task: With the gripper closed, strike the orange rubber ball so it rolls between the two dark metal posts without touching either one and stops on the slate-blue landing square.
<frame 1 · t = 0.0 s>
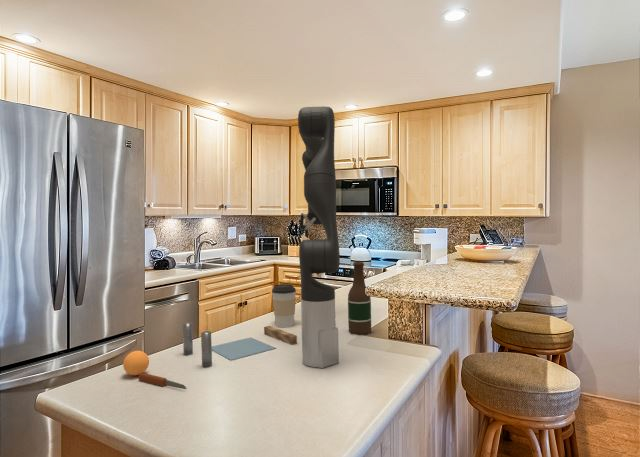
hand: (318, 237, 163), 31 cm above the table, tool tilted 20°, fingers open, 8 cm apart
kitchen knife: (162, 387, 94), on the table
beer bottle: (359, 332, 134), on the table
coffee cup: (284, 325, 146), on the table
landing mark: (241, 348, 120), on the table
ball: (136, 363, 100), on the table
left post: (188, 353, 116), on the table
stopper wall: (279, 338, 129), on the table
right post: (207, 365, 106), on the table
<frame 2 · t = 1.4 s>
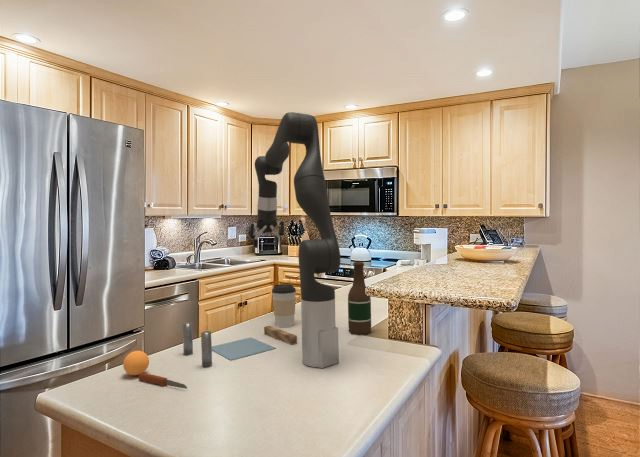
hand: (265, 246, 159), 28 cm above the table, tool tilted 15°, fingers open, 8 cm apart
nothing on the table moved.
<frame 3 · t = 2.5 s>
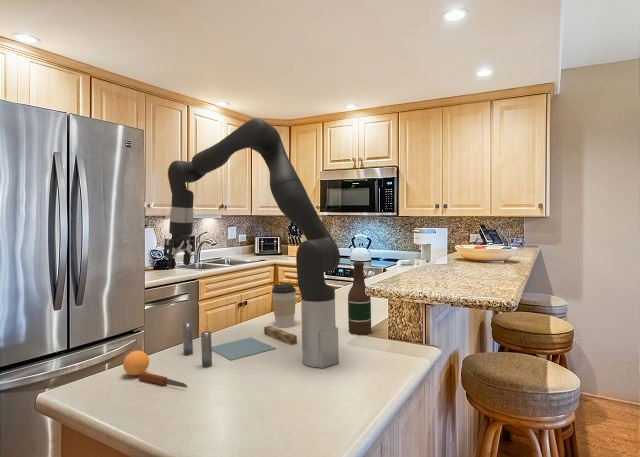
hand: (179, 266, 136), 23 cm above the table, tool pointing down, fingers open, 8 cm apart
nothing on the table moved.
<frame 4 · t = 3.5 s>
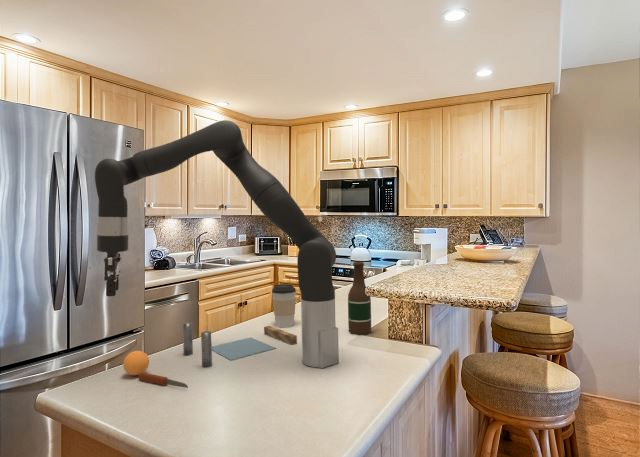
hand: (112, 293, 107), 20 cm above the table, tool pointing down, fingers open, 8 cm apart
nothing on the table moved.
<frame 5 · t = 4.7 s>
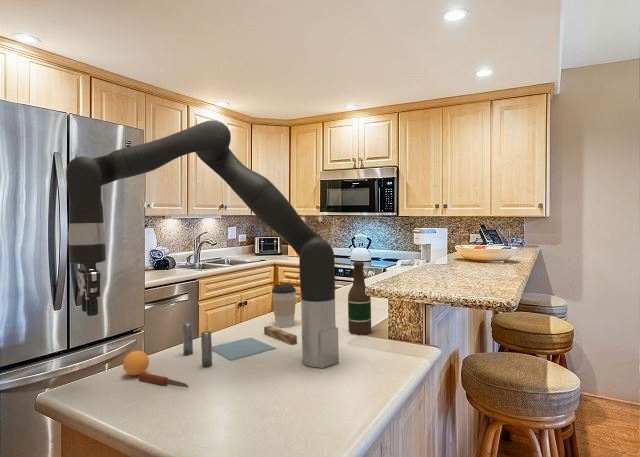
hand: (89, 312, 94), 18 cm above the table, tool pointing down, fingers open, 5 cm apart
nothing on the table moved.
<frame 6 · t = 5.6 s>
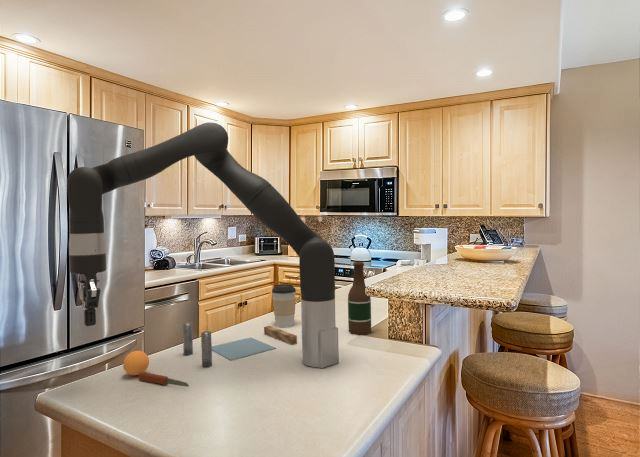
hand: (90, 325, 94), 15 cm above the table, tool pointing down, fingers closed
nothing on the table moved.
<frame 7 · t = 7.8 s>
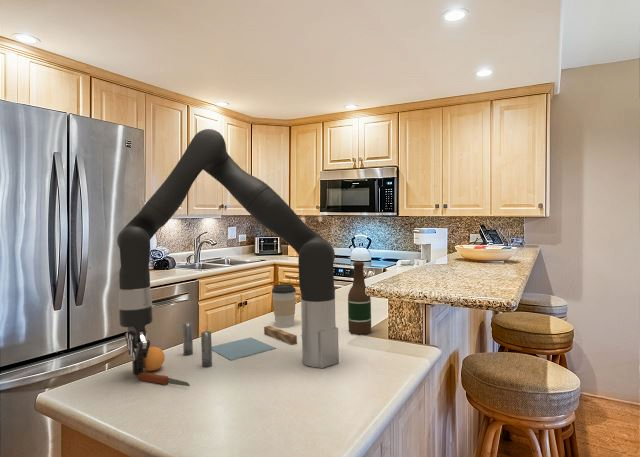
hand: (138, 373, 100), 1 cm above the table, tool pointing down, fingers closed
ball: (152, 358, 103), on the table, touching gripper
everything else where it was.
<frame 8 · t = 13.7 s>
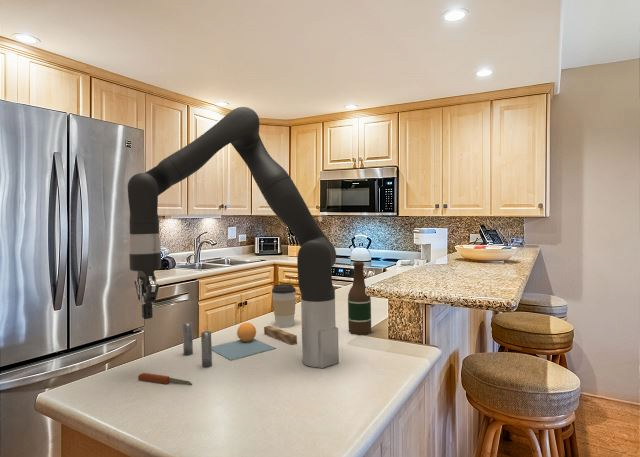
hand: (147, 318, 102), 14 cm above the table, tool pointing down, fingers closed
ball: (246, 332, 127), on the table
at the end: ball 6.8 cm from the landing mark (horizontally); ball never touched left post; ball never touched right post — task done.
